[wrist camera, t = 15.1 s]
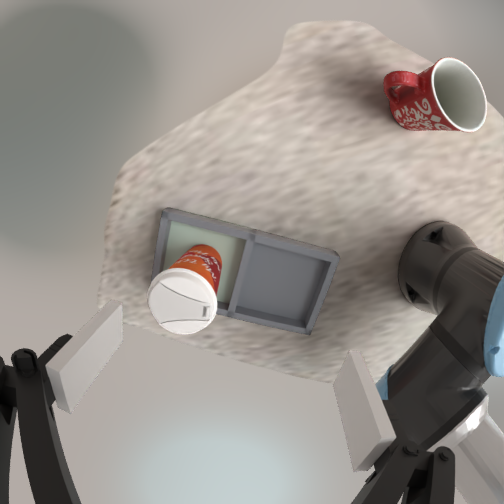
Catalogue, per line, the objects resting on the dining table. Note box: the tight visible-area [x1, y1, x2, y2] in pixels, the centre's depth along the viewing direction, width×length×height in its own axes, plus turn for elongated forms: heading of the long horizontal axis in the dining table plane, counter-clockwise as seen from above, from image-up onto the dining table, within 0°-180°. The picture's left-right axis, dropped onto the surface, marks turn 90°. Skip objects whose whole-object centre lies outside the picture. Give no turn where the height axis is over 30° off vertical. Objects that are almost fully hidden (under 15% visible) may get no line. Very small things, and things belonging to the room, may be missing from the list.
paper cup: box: [147, 244, 222, 335], centre depth 36 cm, size 8×8×14 cm
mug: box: [383, 57, 487, 132], centre depth 29 cm, size 13×9×14 cm
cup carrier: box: [151, 207, 340, 335], centre depth 42 cm, size 25×13×3 cm, turn 75°
